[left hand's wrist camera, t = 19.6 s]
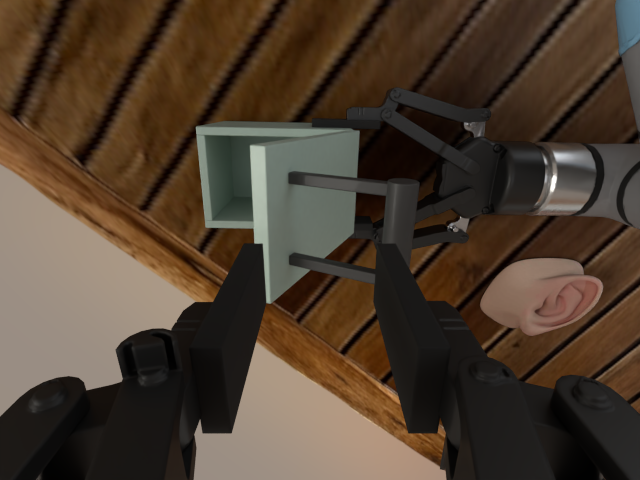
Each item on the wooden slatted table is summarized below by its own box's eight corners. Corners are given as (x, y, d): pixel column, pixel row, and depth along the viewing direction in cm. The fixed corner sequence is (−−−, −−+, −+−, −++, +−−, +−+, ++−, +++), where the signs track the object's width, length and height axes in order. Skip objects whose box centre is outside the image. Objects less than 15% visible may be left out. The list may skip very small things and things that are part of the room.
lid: (256, 300, 23) (392, 339, 19) (249, 144, 19) (412, 157, 16) (344, 231, 35) (435, 247, 32) (348, 129, 32) (451, 135, 28)
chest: (230, 200, 45) (205, 227, 35) (224, 121, 42) (195, 126, 32) (342, 203, 45) (348, 230, 35) (345, 123, 42) (353, 129, 32)
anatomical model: (484, 338, 48) (514, 261, 44) (472, 321, 51) (499, 248, 47) (578, 351, 48) (616, 276, 44) (560, 333, 52) (593, 262, 48)
